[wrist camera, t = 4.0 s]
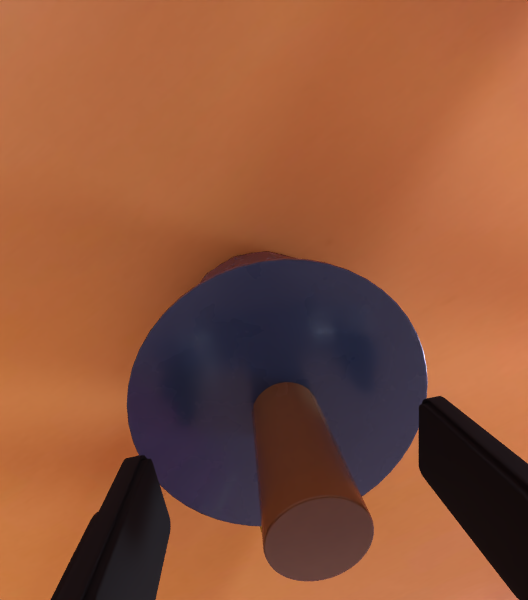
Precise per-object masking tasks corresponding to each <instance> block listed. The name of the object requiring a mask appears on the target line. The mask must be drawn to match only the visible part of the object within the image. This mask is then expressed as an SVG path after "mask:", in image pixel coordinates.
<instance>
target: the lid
mask: <svg viewBox="0 0 528 600" xmlns="http://www.w3.org/2000/svg"><path fill="white" fill-rule="evenodd" d="M427 384H428V381H427V366H426V361H425V356H424V352H423V348H422V345H421V343H420V340H419V338H418V335H417V332H416V331H415V329H414V327H413V325H412V324H411V322H410V320H409V318H408V317H407V316H406V314H405V313H404V312H403V310H402V309H401V308H400V307H399V305H398V304H397V303H396V302H395V301H394V300H393V299H392V298H391V297H390V296H389V295H387V294H386V293H385V292H384V291H383V290H382V289H380V288H379V287H378V286H376V285H375V284H373V283H372V282H370V281H369V280H367V279H366V278H363V277H361V276H359V275H357V274H355V273H353V272H351V271H349V270H347V269H344V268H341V267H337V266H334V265H331V264H328V263H325V262H319V261H313V260H307V259H292V258H279V259H269V260H260V261H256V262H251V263H247V264H243V265H239V266H236V267H234V268H231V269H228V270H226V271H223V272H220V273H218V274H216V275H214V276H212V277H210V278H209V279H207V280H205V281H203V282H201V283H199V284H198V285H196V286H195V287H194V288H192V289H191V290H190V291H188V292H187V293H185V294H184V295H183V296H181V297H180V298H179V299H178V300H177V301H176V302H175V303H174V304H173V305H172V306H171V307H170V308H169V309H168V310H167V311H166V312H165V313H164V314H163V315H162V316H161V318H160V319H159V320H158V322H157V323H156V324H155V325H154V327H153V328H152V329H151V330H150V332H149V334H148V335H147V337H146V339H145V341H144V342H143V344H142V346H141V348H140V349H139V352H138V354H137V357H136V360H135V362H134V365H133V367H132V371H131V376H130V380H129V385H128V395H127V412H128V423H129V428H130V432H131V436H132V439H133V442H134V445H135V447H136V450H137V452H138V454H139V456H140V455H145V456H146V458H147V459H151V460H152V462H153V465H154V468H155V472H156V475H157V478H158V481H159V485H161V486H162V487H163V488H164V489H165V490H166V491H167V492H168V493H169V494H171V495H172V496H173V497H174V498H176V499H177V500H179V501H180V502H182V503H183V504H185V505H186V506H188V507H190V508H192V509H194V510H196V511H198V512H199V513H201V514H204V515H207V516H209V517H212V518H215V519H218V520H222V521H226V522H230V523H234V524H241V525H248V526H262V538H263V549H264V554H265V557H266V559H267V561H268V563H269V564H270V566H271V567H272V568H273V569H274V570H275V571H276V572H278V573H279V574H281V575H283V576H285V577H287V578H290V579H293V580H298V581H319V580H324V579H328V578H331V577H334V576H337V575H339V574H341V573H343V572H345V571H347V570H348V569H350V568H351V567H353V566H354V565H355V564H356V563H357V562H359V561H360V560H361V559H362V557H363V556H364V555H365V554H366V552H367V551H368V549H369V547H370V545H371V542H372V540H373V534H374V526H373V521H372V518H371V515H370V513H369V511H368V509H367V507H366V505H365V503H364V500H363V498H362V496H363V495H365V494H366V493H367V492H369V491H370V490H371V489H373V488H374V487H375V486H376V485H378V484H379V483H380V482H381V481H382V480H383V479H384V478H385V477H386V476H387V475H388V474H389V473H390V472H391V471H392V470H393V468H394V467H395V466H396V465H397V464H398V462H399V461H400V460H401V459H402V457H403V455H404V454H405V452H406V451H407V449H408V448H409V446H410V445H411V443H412V441H413V439H414V437H415V435H416V433H417V430H418V428H419V405H421V404H422V401H423V400H424V399H426V397H427Z"/></svg>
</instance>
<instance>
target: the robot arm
mask: <svg viewBox="0 0 528 600" xmlns="http://www.w3.org/2000/svg"><path fill="white" fill-rule="evenodd" d="M419 469H420V471H421V474H422V475H423V477H424V478H425V480H426V481H427V482H428V484H429V485H430V486H431V487H432V489H433V490H434V491H435V493H436V494H437V495H438V497H439V498H440V499H441V500H442V502H443V503H444V504H445V506H446V507H447V508H448V509H449V511H450V512H451V513H452V515H453V516H454V517H455V519H456V520H457V521H458V522H459V524H460V525H461V526H462V528H463V529H464V530H465V532H466V533H467V534H468V535H469V537H470V538H471V539H472V541H473V542H474V543H475V544H476V546H477V547H478V548H479V550H480V551H481V552H482V554H483V555H484V556H485V557H486V559H487V560H488V561H489V563H490V564H491V565H492V566H493V568H494V569H495V570H496V572H497V573H498V574H499V576H500V577H501V578H502V579H503V581H504V582H505V583H506V585H507V586H508V587H509V588H510V590H511V591H512V592H513V594H514V595H515V596H516V597H517V598H518V599H519V600H528V464H527V463H526V462H525V461H524V460H522V459H521V458H520V457H519V456H517V455H516V454H515V453H513V452H512V451H511V450H510V449H508V448H507V447H506V446H505V445H503V444H502V443H501V442H499V441H498V440H497V439H496V438H494V437H493V436H492V435H491V434H489V433H488V432H487V431H486V430H484V429H483V428H482V427H480V426H479V425H478V424H477V423H475V422H474V421H473V420H472V419H470V418H469V417H468V416H467V415H465V414H464V413H463V412H461V411H460V410H459V409H458V408H456V407H455V406H454V405H453V404H451V403H450V402H449V401H447V400H446V399H445V398H443V397H441V396H437V397H432V398H427V399H424V400H423V401H422V404H421V405H419ZM169 534H170V517H169V514H168V511H167V508H166V504H165V501H164V498H163V494H162V491H161V488H160V485H159V481H158V478H157V475H156V472H155V468H154V465H153V462H152V460H151V459H147V458H146V456H145V455H140V456H135V457H130V458H126V459H125V460H124V461H123V463H122V465H121V467H120V469H119V471H118V473H117V475H116V477H115V480H114V482H113V484H112V486H111V488H110V490H109V492H108V494H107V496H106V498H105V500H104V502H103V504H102V506H101V508H100V510H99V512H97V513H96V514H95V515H94V516H93V517H92V519H91V521H90V522H89V524H88V526H87V528H86V530H85V532H84V534H83V536H82V538H81V540H80V542H79V544H78V546H77V548H76V550H75V552H74V554H73V556H72V558H71V560H70V562H69V564H68V566H67V568H66V570H65V572H64V574H63V576H62V578H61V580H60V582H59V584H58V586H57V588H56V590H55V592H54V594H53V596H52V598H51V600H155V599H156V594H157V590H158V585H159V581H160V576H161V571H162V567H163V562H164V557H165V553H166V548H167V544H168V539H169Z"/></svg>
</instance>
